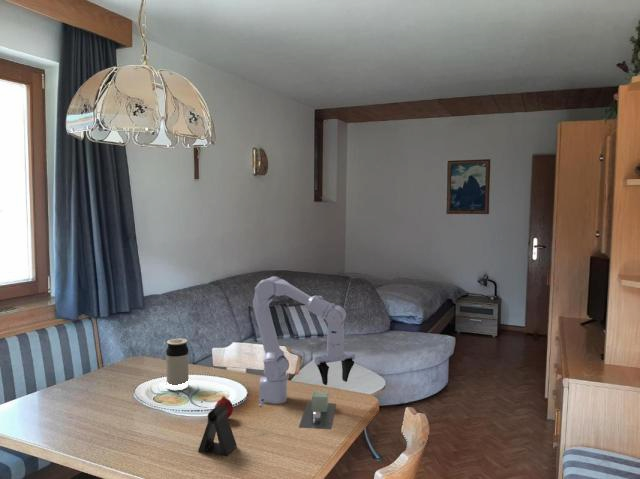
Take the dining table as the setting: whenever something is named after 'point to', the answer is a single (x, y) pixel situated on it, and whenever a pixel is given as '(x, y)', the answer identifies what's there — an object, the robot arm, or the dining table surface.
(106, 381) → the dining table surface
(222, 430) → the phone stand
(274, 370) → the robot arm
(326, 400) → the sage green cube
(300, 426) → the base plate
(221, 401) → the onion
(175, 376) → the travel mug
